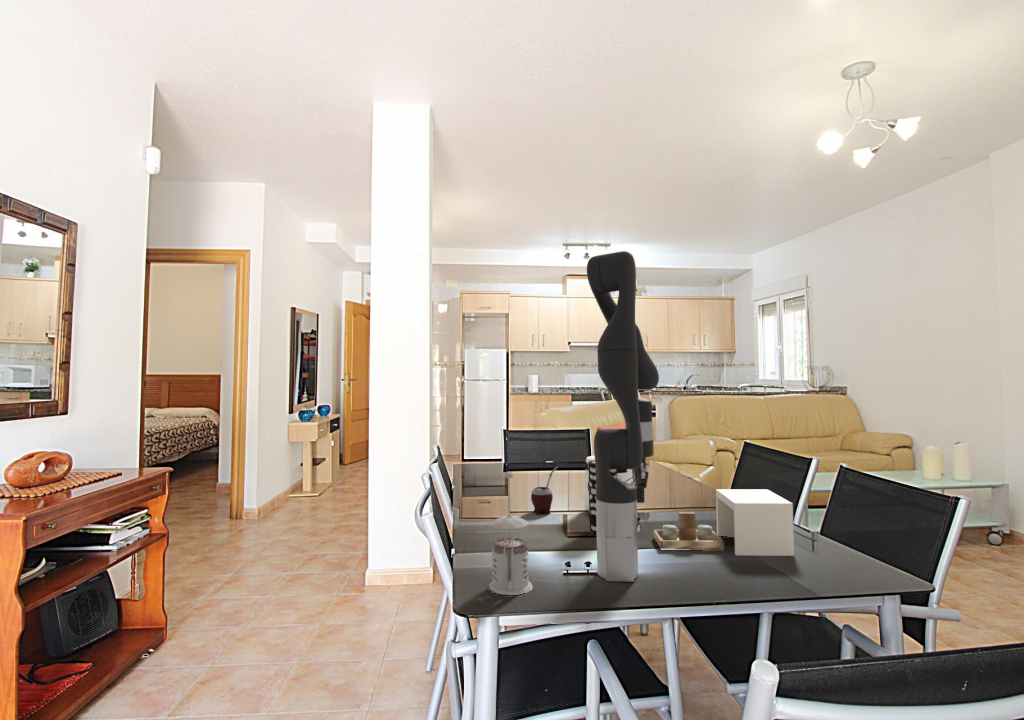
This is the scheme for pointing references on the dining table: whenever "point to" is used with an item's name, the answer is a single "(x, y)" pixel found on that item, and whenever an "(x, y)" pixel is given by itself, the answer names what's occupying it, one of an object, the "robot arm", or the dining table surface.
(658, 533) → the tray
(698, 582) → the dining table surface
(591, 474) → the white-spotted black cylinder
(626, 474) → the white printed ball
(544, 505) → the mate gourd
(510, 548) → the french press
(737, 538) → the white open block
